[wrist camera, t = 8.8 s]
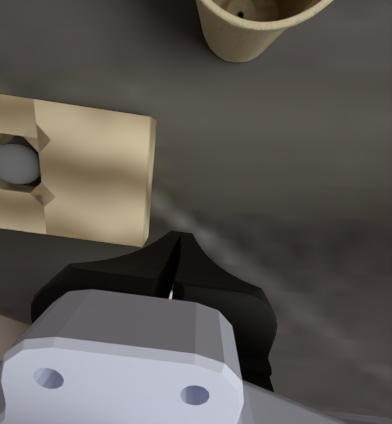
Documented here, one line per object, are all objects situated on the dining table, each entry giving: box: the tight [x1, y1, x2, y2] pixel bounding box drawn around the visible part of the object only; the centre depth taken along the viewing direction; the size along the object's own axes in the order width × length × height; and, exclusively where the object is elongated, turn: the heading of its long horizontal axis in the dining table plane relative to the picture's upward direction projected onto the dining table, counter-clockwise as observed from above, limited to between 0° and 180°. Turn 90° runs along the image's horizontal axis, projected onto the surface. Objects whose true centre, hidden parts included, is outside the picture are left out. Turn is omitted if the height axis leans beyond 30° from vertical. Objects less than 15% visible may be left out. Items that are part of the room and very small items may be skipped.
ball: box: [0, 144, 41, 184], centre depth 18 cm, size 4×4×4 cm
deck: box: [0, 94, 157, 247], centre depth 19 cm, size 12×17×2 cm
